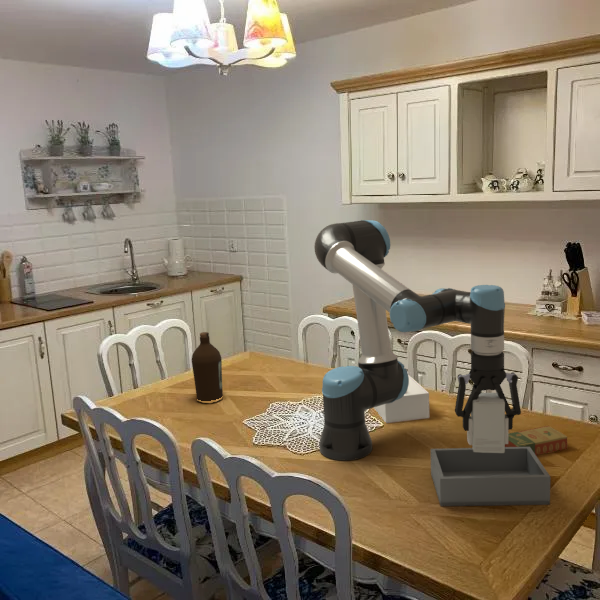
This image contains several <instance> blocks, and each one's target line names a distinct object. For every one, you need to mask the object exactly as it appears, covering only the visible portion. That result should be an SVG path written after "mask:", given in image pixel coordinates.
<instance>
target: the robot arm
mask: <svg viewBox="0 0 600 600" xmlns="http://www.w3.org/2000/svg"><path fill="white" fill-rule="evenodd" d="M313 246H314V253H315V254H314V255H315V256H316V257H315V258H316V260H317V261H318V262H319V264H320V265H321V267H323V268H325V269H326V270H327V271H328V272H329V273H332V274H338V275H339V276H341V277H342V278H344V279H345V280H346V281H348V282H349V283H350V284H351V285H352V290H353V291H352V292H353V299H354V306H355V312H356V320H357V326H358V333H359V334H358V335H359V342H360V348H361V356H360V357H359V359H358V360H357V363H358V364H357V365H358V366H355V365H346V366H343V365H342V366H338V367H335V368H332V369H330V370H329V371H327V372H326V373H325V374H324V375H323V378H322V388H321V393H322V401H323V403H322V404H323V422H324V424H323V428H322V432H321V436H320V438H319V444H318V445H319V452H320V453H322V454H323V455H322V454H321V455H322V456H323V457H325V458H328V459H331V460H335V461H336V460H337V461H354V460H359V459H362V458H364V457H367V456H368V455H370V453H371V452H372V450H373V441H372V438H371V436H370V433H369V430H368V426H367V424H366V414H365V413H366V410H367V411H368V410H370V409H374V407H377V406H380V405H383V404H387V403H392V402H394V401H395V400H398V399H400V398H402V397H403V396H404V394H405V393H406V391H407V389H408V385H409V377H408V375H409V373H408V370H407V368H405V364H403V362H401V361H400V360H398V355H396V354H395V353H394V352H393V351H392V347H391V341H390V334H389V333H390V331H389V325H388V317H387V312H388V313H389V318H390V323H391V324H393V328H394V329H395V330H396V331H398V332H400V333H408V332H409V333H410V332H413V333H414V332H417V331H420V330H425V329H427V328H431V327H435V326H439V325H443V324H448V323H452V322H457V323H463V324H469V325H470V350H471V352H470V371H469V372H468V374H461V373H460V374H457V381H458V387H457V395H456V400H455V405H454V412H455V414H456V417H457V418H459V417H460V418H462V428H463V431H464V432H466V441H467V443H468V445H469V446H472V418H471V412H472V408H473V400H477V398H478V396H479V395H480V393H482V391H484V392H485V391H487V390H489V391H495V393H497V395H498V396H499V398H500V399H504V402H505V444H508V434H509V431H510V430H511V431H512V430H513V428H514V427H513V425H514V423H513V420H514V418H515V416H519V415H521V414H522V410H521V403H520V399H519V398H520V397H519V393H518V392H519V390H518V385H517V384H518V380H519V377H518V375H517V374H516V373H515V372H511V373H510V372H506V371H505V352H504V350H505V330H504V329H505V310H506V303H505V302H506V301H505V291H504V289H503V288H502V287H501V286H499V285H493V284H479V285H474V286H472V287H471V289H470V291H465V290H458V289H455V288H450V287H448V288H443V287H442V288H438V289H436V290H435V291H434V292H433V293H432V294H427V295H423V296H421V295H419V294H418V293H416V292H415V291H413V290H411V288H409V287H407V286H406V285H405V284H403V283H402V282H400V281H399V280H397V279H396V278H395V277H393V276H392V275H390V274H389V273H388V272H386V271H385V270H384V269H383V267H384V266H385V258H386V256H388V255H389V253H390V249H391V238H390V235H389V233H388V230H387V228H385V226H384V225H382V224H381V222H379V221H376V220H374V219H373V220H372V219H371V220H368V219H363V220H362V219H361V220H355V221H348V222H336V223H335V222H334V223H331V224H329V225H326V226H325V227H324V228H322V229H321V230H320V231H319V233H318V234H317V236H316V239H315V240H314V245H313ZM505 379H506V381H507V382H508V386H509V387H508V388H509V392H510V398H511V404H512V405H511V406H512V408H511V407H510V405H509V402H508V400H507V397H506V395H505V394H504V391H503V388H502V386H501V384H503V382H504V381H505ZM470 380H471V381H472V382H473V385H472V388H471V392H470V394H469V396H468V397H467V398H468V399H467V400H466V403H465V405H464V401H465V396H466V395H465V394H466V389H467V388H466V387H467V386H466V385H468V384H469V381H470Z"/></svg>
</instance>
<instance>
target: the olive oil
mask: <svg viewBox="0 0 600 600" xmlns="http://www.w3.org/2000/svg"><path fill="white" fill-rule="evenodd" d="M199 341H200V342H199V345H198V346H197V347H196V349H195V350H194V351H193V352H192V355H191V367H192V373H193V379H194V380H193V381H194V387H195V394H196V395H195V396H196V400H197V399H198V400H201V401H211V400H216V399H219V398H221V397H222V396H223V397H224V392H223V372H222V371H223V366H222V365H223V364H222V363H223V362H222V355H221V352H220V351H219V350H218V348H216V347H215V346H214V345H213V344H212V343H211V342H210V334H209V332H207V331H204V332H203V331H202V332H200V333H199Z"/></svg>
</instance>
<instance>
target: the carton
mask: <svg viewBox="0 0 600 600" xmlns="http://www.w3.org/2000/svg"><path fill="white" fill-rule="evenodd" d="M505 447H530V448H531V449H532V451H533V452H534V454H535V455H536V456H538V455H539V454H540V455H544V454H543V453H545V454H548V452H550V453H554V452H553V451H555V452H558V451H557V450H560V451H563V450H562V449H565V450H567V449H568V436H567V435H566V434H564V433H563V432H561V431H559V430H557V429H555V428H553V427H552V426H550V425H545V426H541V427H534V428H530V429H526V430H519V431H516V432H515V431H514V432H508V444H505ZM566 448H567V449H566Z"/></svg>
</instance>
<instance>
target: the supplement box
mask: <svg viewBox="0 0 600 600" xmlns="http://www.w3.org/2000/svg"><path fill="white" fill-rule="evenodd" d="M505 414H506V412H505V402H504V399H500V398H499V396H498V395H497V392H481V393H480V395H479V396H478V398H477V400H473V408H472V412H471V414H470V416H471V418H472V445H471V446H472V447H471V448H473V452H481V453H504V452H505Z"/></svg>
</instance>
